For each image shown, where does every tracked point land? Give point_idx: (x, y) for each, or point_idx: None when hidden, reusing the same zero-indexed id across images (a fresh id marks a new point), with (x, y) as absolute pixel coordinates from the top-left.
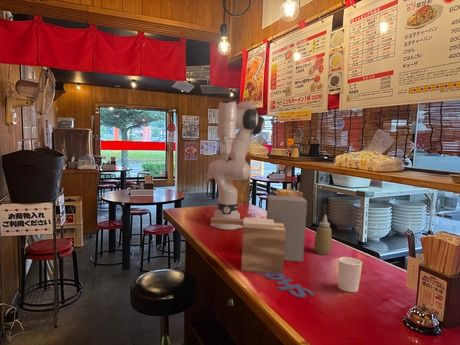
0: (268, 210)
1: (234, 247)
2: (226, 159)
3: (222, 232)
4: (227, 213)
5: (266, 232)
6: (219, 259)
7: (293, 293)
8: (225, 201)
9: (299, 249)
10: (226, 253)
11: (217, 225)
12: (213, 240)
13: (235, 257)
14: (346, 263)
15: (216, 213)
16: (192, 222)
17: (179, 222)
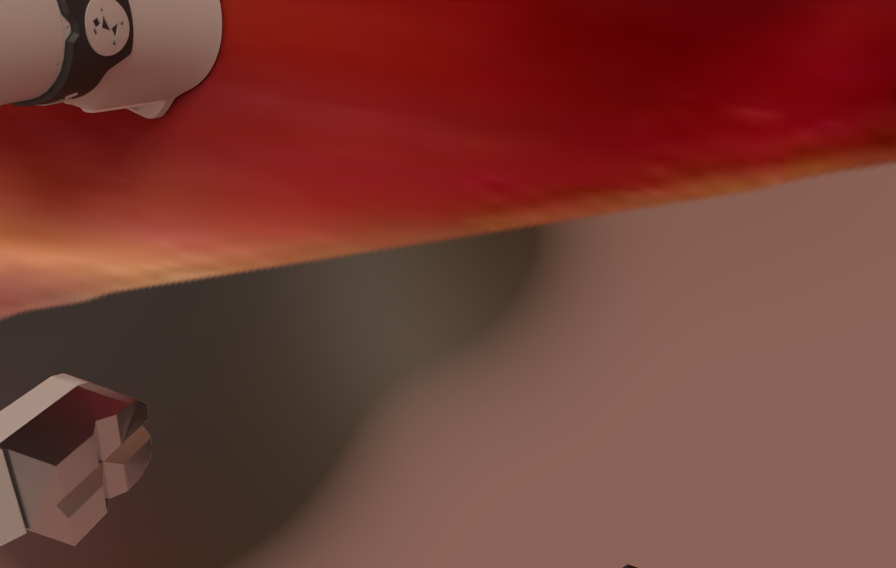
0: None
1: (636, 15)
2: (7, 481)
3: (291, 54)
4: (128, 16)
5: None
6: (867, 154)
7: None
8: (41, 46)
9: None
10: (758, 92)
11: (187, 80)
12: (477, 139)
13: (858, 42)
14: None
15: (105, 99)
16: (118, 218)
17: (142, 285)
